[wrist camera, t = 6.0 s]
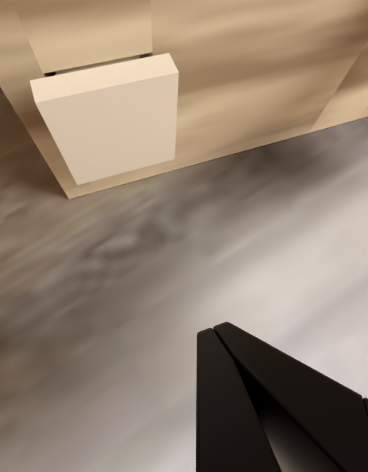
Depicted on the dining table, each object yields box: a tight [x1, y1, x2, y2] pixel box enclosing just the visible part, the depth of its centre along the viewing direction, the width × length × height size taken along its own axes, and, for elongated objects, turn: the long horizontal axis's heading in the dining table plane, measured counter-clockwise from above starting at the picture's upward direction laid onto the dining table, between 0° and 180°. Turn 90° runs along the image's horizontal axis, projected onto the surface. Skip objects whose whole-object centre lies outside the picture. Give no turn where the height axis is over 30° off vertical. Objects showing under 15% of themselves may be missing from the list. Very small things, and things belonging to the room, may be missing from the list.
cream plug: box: [30, 53, 179, 185], centre depth 14 cm, size 12×5×5 cm, turn 20°
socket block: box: [0, 0, 368, 199], centre depth 16 cm, size 11×22×11 cm, turn 110°
